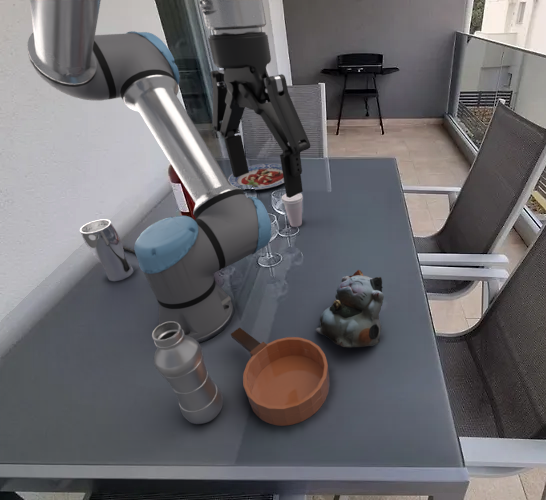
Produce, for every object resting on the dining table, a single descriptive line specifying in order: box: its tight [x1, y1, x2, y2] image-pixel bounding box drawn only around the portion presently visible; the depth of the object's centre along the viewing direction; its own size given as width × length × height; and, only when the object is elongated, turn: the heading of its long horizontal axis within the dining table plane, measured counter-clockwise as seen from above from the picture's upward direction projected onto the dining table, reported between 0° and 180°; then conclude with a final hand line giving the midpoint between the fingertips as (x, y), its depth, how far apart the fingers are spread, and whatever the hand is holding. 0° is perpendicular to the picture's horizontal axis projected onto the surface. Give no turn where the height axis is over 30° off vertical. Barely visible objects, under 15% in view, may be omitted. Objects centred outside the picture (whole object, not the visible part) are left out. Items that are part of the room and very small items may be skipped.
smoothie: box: [281, 192, 304, 228], centre depth 107 cm, size 6×6×14 cm
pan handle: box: [230, 327, 268, 358], centre depth 67 cm, size 8×3×3 cm, turn 50°
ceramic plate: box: [227, 163, 284, 191], centre depth 140 cm, size 26×26×3 cm
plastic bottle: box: [151, 321, 224, 425], centre depth 54 cm, size 6×7×20 cm
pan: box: [242, 336, 331, 427], centre depth 62 cm, size 14×14×5 cm
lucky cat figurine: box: [315, 269, 385, 348], centre depth 71 cm, size 15×12×14 cm
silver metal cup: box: [79, 218, 134, 282], centre depth 89 cm, size 7×7×15 cm
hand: (266, 183), depth 57 cm, fingers open, 13 cm apart
